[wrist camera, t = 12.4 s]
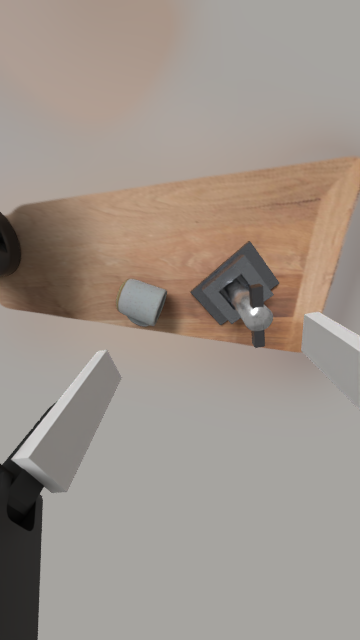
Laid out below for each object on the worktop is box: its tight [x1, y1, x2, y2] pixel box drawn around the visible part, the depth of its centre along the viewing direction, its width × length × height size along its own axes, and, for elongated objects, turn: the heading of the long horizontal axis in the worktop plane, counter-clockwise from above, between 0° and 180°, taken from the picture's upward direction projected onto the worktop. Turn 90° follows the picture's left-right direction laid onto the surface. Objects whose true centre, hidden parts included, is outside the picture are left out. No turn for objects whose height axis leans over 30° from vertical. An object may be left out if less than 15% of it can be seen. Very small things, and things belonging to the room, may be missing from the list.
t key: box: [225, 280, 273, 348], centre depth 27 cm, size 8×3×15 cm, turn 13°
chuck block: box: [191, 241, 279, 325], centre depth 33 cm, size 10×14×4 cm
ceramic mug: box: [116, 279, 167, 326], centre depth 34 cm, size 11×8×8 cm
